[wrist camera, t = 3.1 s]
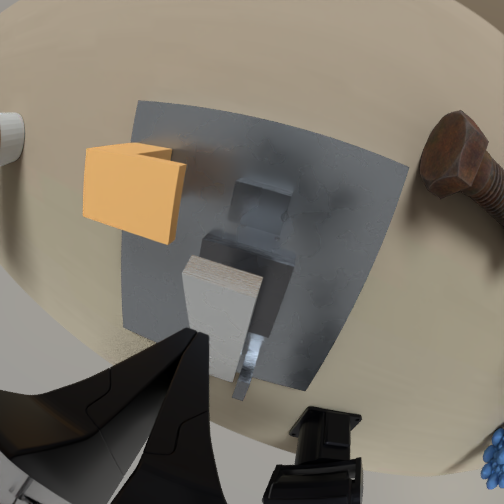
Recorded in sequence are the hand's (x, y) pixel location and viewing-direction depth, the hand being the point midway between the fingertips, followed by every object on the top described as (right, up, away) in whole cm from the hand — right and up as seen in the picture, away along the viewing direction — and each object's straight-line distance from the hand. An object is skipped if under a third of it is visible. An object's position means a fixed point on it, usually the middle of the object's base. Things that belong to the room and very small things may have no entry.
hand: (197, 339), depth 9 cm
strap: (0, -2, +7) cm, 8 cm away
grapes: (+44, -27, +14) cm, 53 cm away
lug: (-4, +8, +8) cm, 12 cm away
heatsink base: (+1, +2, +11) cm, 12 cm away
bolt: (+20, +7, +6) cm, 22 cm away
